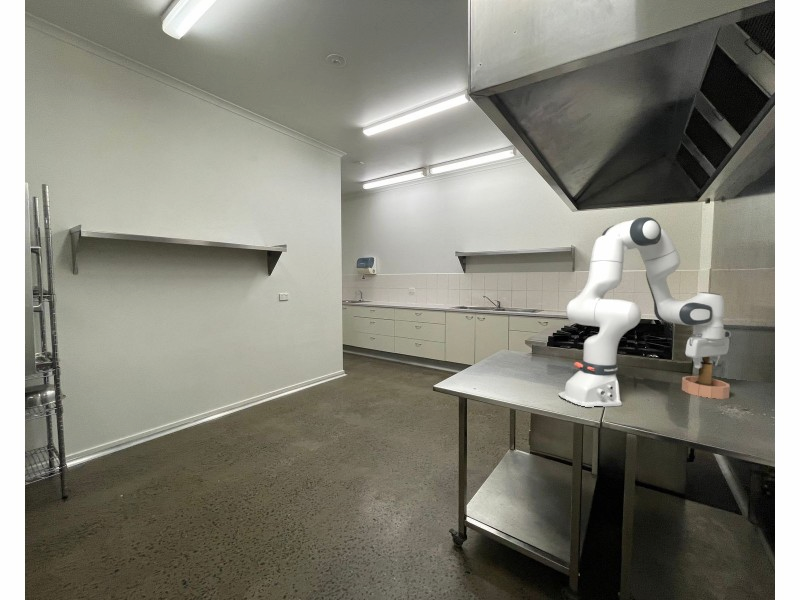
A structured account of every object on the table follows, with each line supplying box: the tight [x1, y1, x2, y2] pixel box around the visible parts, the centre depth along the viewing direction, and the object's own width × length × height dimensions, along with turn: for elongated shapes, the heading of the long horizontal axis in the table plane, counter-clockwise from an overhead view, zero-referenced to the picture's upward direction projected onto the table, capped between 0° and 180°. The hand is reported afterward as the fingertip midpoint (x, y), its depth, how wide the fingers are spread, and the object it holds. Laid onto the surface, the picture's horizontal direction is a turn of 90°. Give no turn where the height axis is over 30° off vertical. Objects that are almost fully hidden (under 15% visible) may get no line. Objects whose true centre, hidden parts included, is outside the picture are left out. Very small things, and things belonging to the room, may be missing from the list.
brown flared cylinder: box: [694, 356, 714, 386], centre depth 134 cm, size 7×6×18 cm
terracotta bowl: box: [681, 375, 731, 400], centre depth 134 cm, size 14×14×4 cm
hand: (705, 366), depth 134 cm, fingers open, 8 cm apart
